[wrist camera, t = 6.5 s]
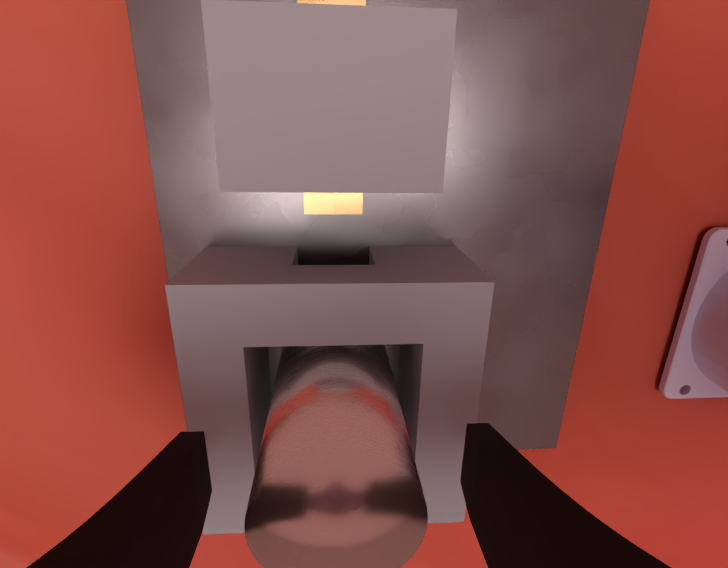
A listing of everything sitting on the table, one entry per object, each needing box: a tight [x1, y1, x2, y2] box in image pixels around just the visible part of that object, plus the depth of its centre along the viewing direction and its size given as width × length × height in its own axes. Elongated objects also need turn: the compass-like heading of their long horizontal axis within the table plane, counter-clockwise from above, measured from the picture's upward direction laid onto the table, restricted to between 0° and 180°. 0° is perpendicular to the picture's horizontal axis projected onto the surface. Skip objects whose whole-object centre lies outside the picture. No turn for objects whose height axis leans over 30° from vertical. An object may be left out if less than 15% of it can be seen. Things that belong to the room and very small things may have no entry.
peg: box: [244, 345, 428, 568], centre depth 13 cm, size 4×4×8 cm
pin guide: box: [201, 0, 457, 193], centre depth 12 cm, size 6×4×4 cm
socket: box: [165, 246, 494, 535], centre depth 15 cm, size 9×9×4 cm
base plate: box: [126, 0, 650, 449], centre depth 15 cm, size 16×26×1 cm, turn 179°
